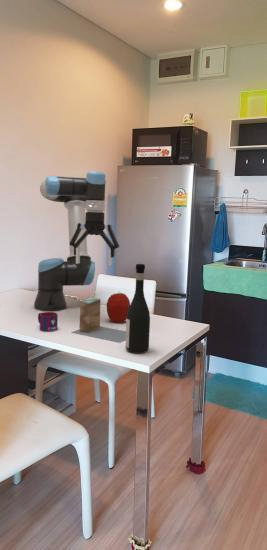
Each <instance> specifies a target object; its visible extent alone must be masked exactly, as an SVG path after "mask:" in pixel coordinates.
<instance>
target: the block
mask: <svg viewBox="0 0 267 550" xmlns="http://www.w3.org/2000/svg"><path fill="white" fill-rule="evenodd" d="M100 326H101V298H96V297H90V298H87V299H83V300H80V301H79V329H80V332H84V333H90V332H93V331H95V330H98V329H100Z"/></svg>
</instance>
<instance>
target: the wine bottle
mask: <svg viewBox="0 0 267 550" xmlns="http://www.w3.org/2000/svg"><path fill="white" fill-rule="evenodd" d="M145 269H146V265H145V264H144V263H137V264H135V292H134V294H133V298H132V299H131V301H130V307H129V309H128V313H127V319H126V320H125V322H126V324H125V326H126V328H125V331H126V340H125V349H126V351H128V352H130V353H132V354H143V353H146V352H147V351H148V350H149V348H150V331H151V330H150V329H151V327H150V326H151V315H150V310H149V307H148V304H147V300H146V297H145V294H144V293H145V291H144V288H145V287H144V282H145V280H144V279H145Z"/></svg>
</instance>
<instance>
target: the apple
mask: <svg viewBox="0 0 267 550" xmlns="http://www.w3.org/2000/svg"><path fill="white" fill-rule="evenodd" d="M105 305H106V313H107V316H108V319H109V320H110V321H111V322H112V323H115V324H122V323H124V322H126V319H127V313H128V309H129V307H130V305H131V301H130V298H129V297H128V296H127V294H125V293H122V292H118V293H112V294H111V295H110V296H109V298H108V299H107V302H106V304H105Z"/></svg>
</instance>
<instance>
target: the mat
mask: <svg viewBox="0 0 267 550" xmlns="http://www.w3.org/2000/svg"><path fill="white" fill-rule="evenodd" d="M71 334H75V335H76V334H77V335H80V336H85V337H90V338H94V339H99V340H105V341H109V342H114V343H118V344H121V343H123V342H126V330H123V329H117V328H110V327H106V326H101V325H100V329H98V330H95V331H93V332H90V333H84V332H80V328H79V329H77V330H73V331H71Z"/></svg>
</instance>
